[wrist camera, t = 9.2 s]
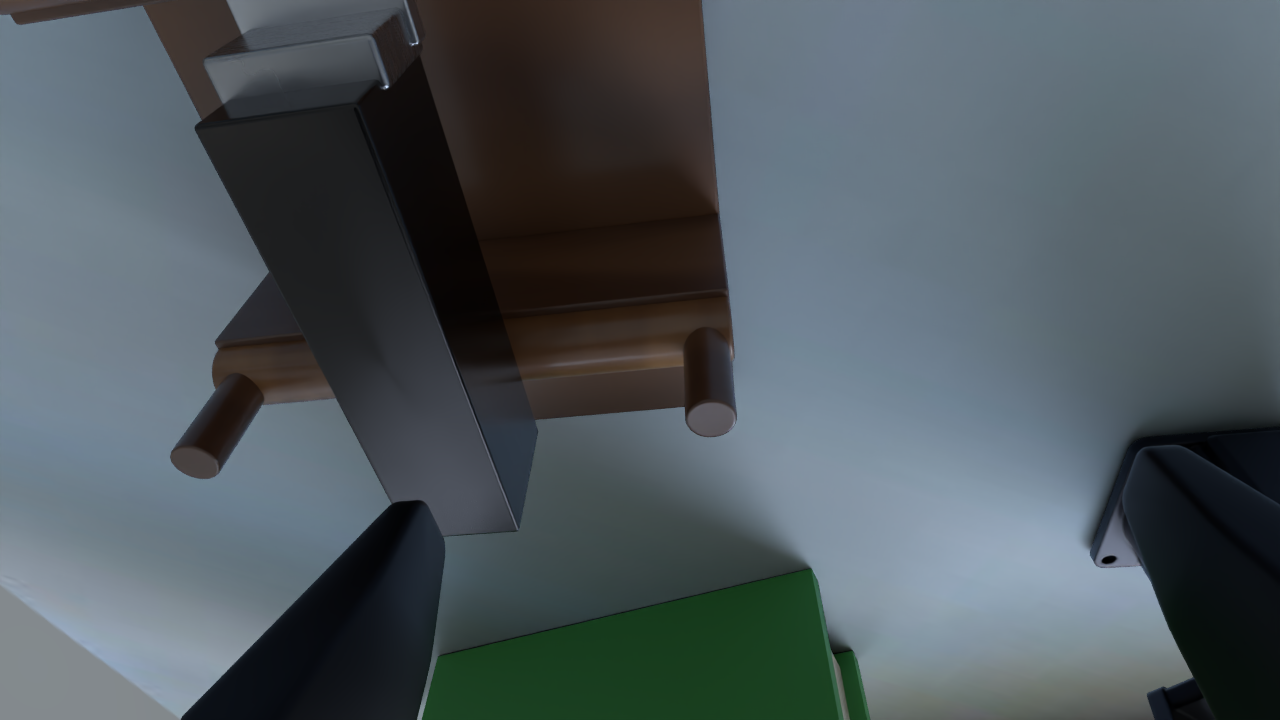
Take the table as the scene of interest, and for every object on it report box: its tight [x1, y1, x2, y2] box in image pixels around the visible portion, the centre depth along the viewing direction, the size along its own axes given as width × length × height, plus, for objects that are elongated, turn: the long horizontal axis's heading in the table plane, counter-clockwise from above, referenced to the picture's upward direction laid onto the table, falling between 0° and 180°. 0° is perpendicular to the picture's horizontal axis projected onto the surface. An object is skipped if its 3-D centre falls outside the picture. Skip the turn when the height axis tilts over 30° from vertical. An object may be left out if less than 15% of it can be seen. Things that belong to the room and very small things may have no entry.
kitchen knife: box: [195, 0, 538, 537], centre depth 11 cm, size 20×3×3 cm, turn 8°
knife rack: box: [0, 0, 737, 479], centre depth 15 cm, size 20×12×8 cm, turn 8°
